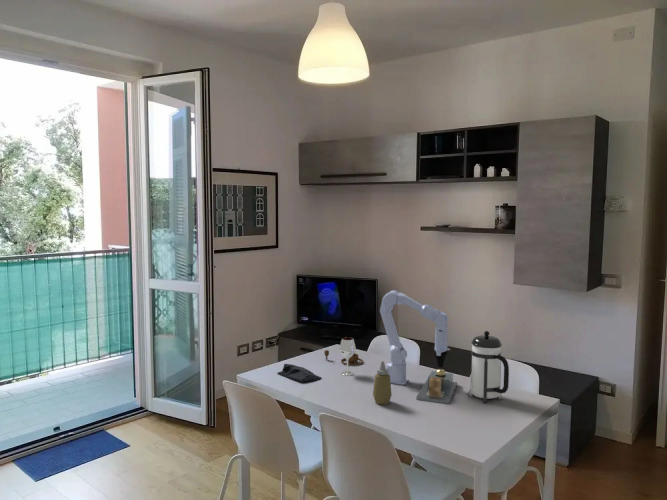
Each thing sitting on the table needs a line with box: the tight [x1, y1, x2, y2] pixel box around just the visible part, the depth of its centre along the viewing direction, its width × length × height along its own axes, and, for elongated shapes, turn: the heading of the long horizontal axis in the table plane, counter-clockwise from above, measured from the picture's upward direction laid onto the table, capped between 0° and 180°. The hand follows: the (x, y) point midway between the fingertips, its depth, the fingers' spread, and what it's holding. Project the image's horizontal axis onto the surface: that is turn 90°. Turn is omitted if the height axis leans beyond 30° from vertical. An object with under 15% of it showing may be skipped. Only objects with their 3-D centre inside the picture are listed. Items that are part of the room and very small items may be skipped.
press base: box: [415, 371, 458, 405], centre depth 228 cm, size 14×26×5 cm, turn 159°
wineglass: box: [339, 336, 357, 377], centre depth 253 cm, size 8×8×18 cm
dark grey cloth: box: [277, 363, 323, 383], centre depth 250 cm, size 15×22×5 cm
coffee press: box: [467, 330, 510, 404], centre depth 219 cm, size 17×16×30 cm
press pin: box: [436, 368, 446, 377], centre depth 235 cm, size 4×4×3 cm
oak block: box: [429, 377, 441, 396], centre depth 223 cm, size 4×4×6 cm
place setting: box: [324, 349, 364, 367], centre depth 276 cm, size 18×20×6 cm
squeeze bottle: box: [372, 360, 393, 406], centre depth 215 cm, size 8×8×18 cm
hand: (440, 367), depth 235 cm, fingers closed
